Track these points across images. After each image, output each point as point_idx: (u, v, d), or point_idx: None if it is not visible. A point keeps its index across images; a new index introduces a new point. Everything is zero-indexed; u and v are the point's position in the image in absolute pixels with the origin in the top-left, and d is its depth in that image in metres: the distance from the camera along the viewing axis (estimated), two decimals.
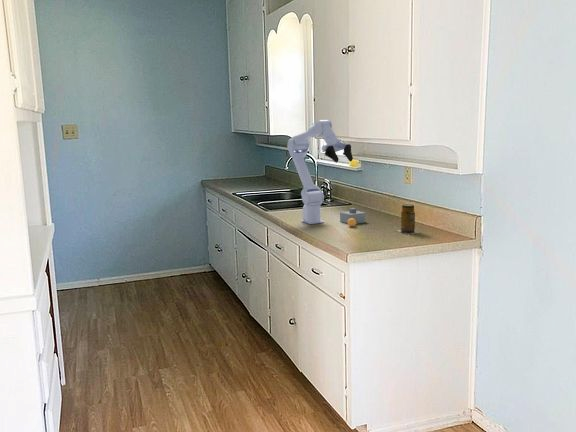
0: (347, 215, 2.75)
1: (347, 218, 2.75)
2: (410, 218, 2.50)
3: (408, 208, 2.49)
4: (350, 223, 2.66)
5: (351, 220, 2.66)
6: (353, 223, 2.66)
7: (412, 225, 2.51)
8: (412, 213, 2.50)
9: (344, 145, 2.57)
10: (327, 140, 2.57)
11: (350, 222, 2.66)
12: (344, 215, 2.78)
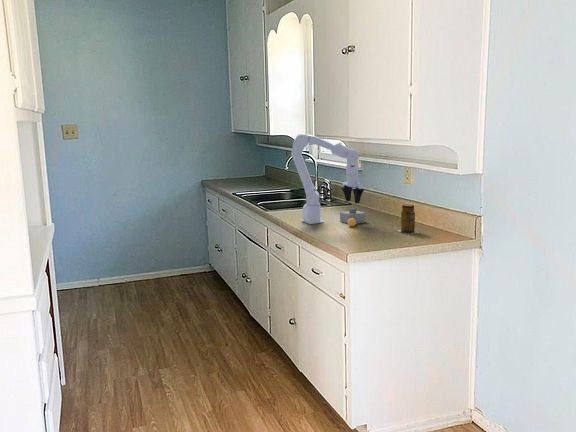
0: (347, 215, 2.75)
1: (347, 218, 2.75)
2: (410, 218, 2.50)
3: (408, 208, 2.49)
4: (350, 223, 2.66)
5: (351, 220, 2.66)
6: (353, 223, 2.66)
7: (412, 225, 2.51)
8: (412, 213, 2.50)
9: None
10: (356, 176, 2.73)
11: (350, 222, 2.66)
12: (344, 215, 2.78)
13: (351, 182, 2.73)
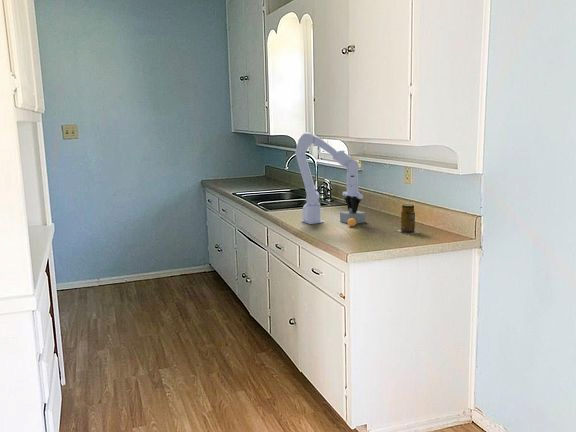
0: (347, 215, 2.75)
1: (347, 218, 2.75)
2: (410, 218, 2.50)
3: (408, 208, 2.49)
4: (350, 223, 2.66)
5: (351, 220, 2.66)
6: (353, 223, 2.66)
7: (412, 225, 2.51)
8: (412, 213, 2.50)
9: None
10: (356, 186, 2.74)
11: (350, 222, 2.66)
12: (344, 215, 2.78)
13: (351, 192, 2.74)
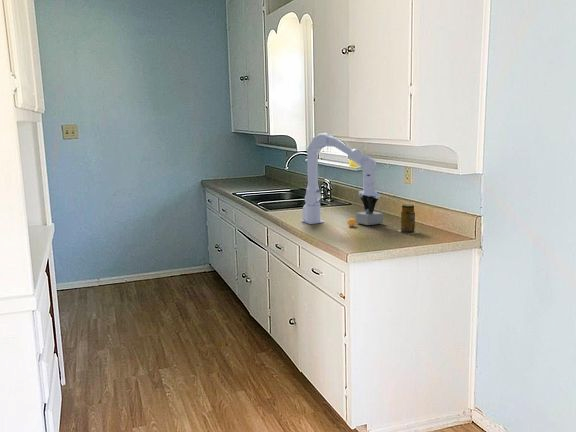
0: (364, 216, 2.69)
1: (364, 219, 2.69)
2: (410, 218, 2.50)
3: (408, 208, 2.49)
4: (350, 223, 2.66)
5: (351, 220, 2.66)
6: (353, 223, 2.66)
7: (412, 225, 2.51)
8: (412, 213, 2.50)
9: None
10: (373, 185, 2.68)
11: (350, 222, 2.66)
12: (360, 216, 2.71)
13: (368, 191, 2.68)
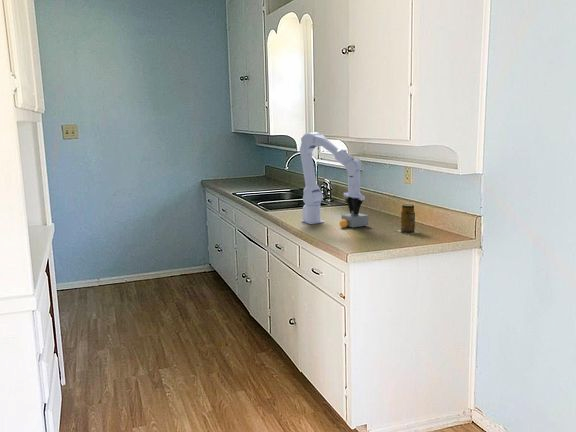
0: (349, 218, 2.65)
1: (349, 221, 2.65)
2: (410, 218, 2.50)
3: (408, 208, 2.49)
4: (347, 225, 2.66)
5: (344, 227, 2.65)
6: (346, 224, 2.64)
7: (412, 225, 2.51)
8: (412, 213, 2.50)
9: None
10: (358, 187, 2.64)
11: (346, 226, 2.65)
12: (345, 218, 2.67)
13: (353, 193, 2.64)
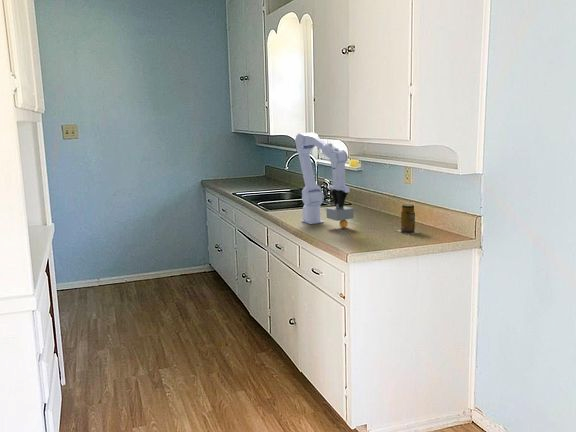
0: (334, 211, 2.60)
1: (334, 214, 2.60)
2: (410, 218, 2.50)
3: (408, 208, 2.49)
4: None
5: (344, 227, 2.65)
6: (346, 224, 2.64)
7: (412, 225, 2.51)
8: (412, 213, 2.50)
9: None
10: (343, 179, 2.59)
11: (346, 226, 2.65)
12: (330, 211, 2.63)
13: (337, 185, 2.59)
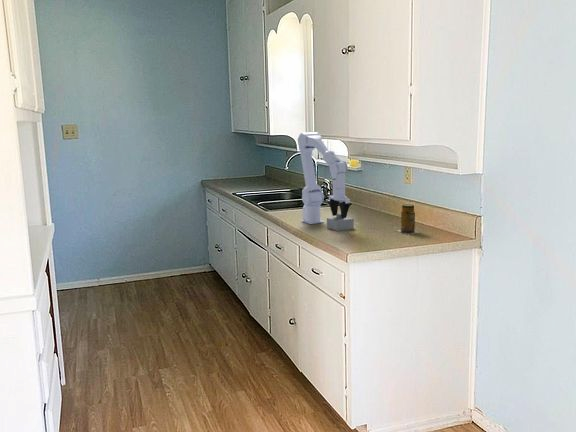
0: (334, 221, 2.61)
1: (334, 224, 2.61)
2: (410, 218, 2.50)
3: (408, 208, 2.49)
4: None
5: None
6: None
7: (412, 225, 2.51)
8: (412, 213, 2.50)
9: None
10: (343, 190, 2.60)
11: None
12: (330, 221, 2.63)
13: (337, 196, 2.60)
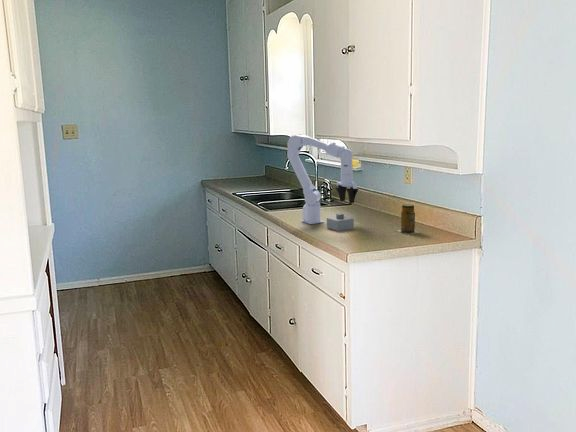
0: (334, 221, 2.61)
1: (334, 224, 2.61)
2: (410, 218, 2.50)
3: (408, 208, 2.49)
4: None
5: None
6: None
7: (412, 225, 2.51)
8: (412, 213, 2.50)
9: None
10: (350, 176, 2.70)
11: None
12: (330, 221, 2.63)
13: (345, 182, 2.70)
